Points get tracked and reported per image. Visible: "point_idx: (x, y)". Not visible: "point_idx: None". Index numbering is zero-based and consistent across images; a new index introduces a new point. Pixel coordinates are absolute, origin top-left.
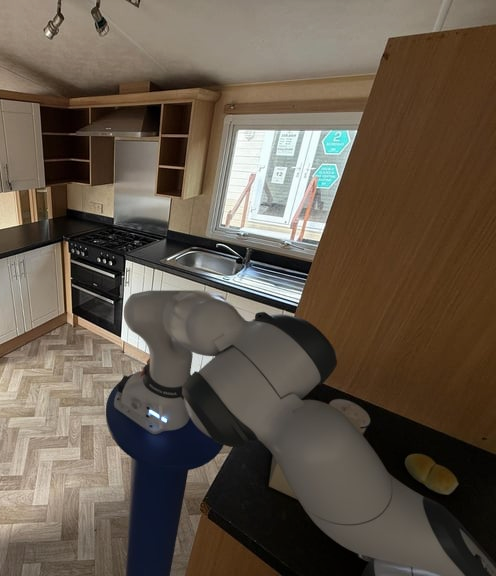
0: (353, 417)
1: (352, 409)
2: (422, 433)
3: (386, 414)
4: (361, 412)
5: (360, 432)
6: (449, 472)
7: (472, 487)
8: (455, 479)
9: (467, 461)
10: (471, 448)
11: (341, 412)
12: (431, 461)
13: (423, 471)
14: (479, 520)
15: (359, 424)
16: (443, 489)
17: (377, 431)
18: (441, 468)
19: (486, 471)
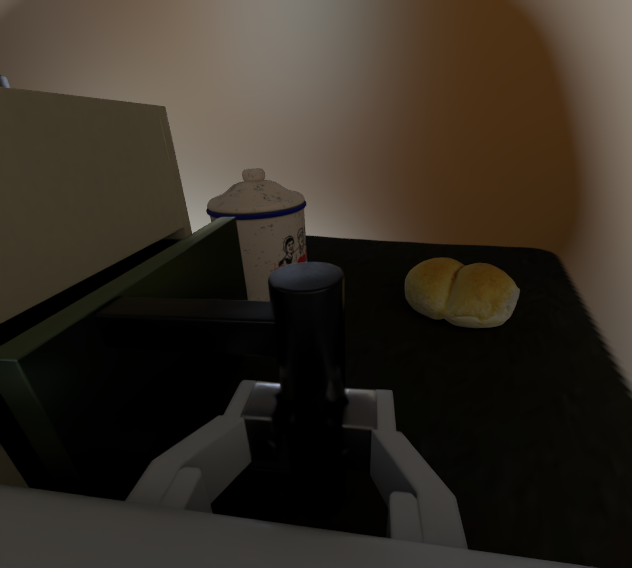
0: (250, 195)
1: (251, 180)
2: (444, 249)
3: (385, 241)
4: (278, 185)
5: (114, 100)
6: (494, 266)
7: (547, 297)
8: (510, 279)
9: (524, 264)
10: (525, 248)
11: (225, 196)
12: (454, 261)
13: (438, 284)
14: (590, 359)
15: (150, 105)
16: (488, 309)
17: (361, 263)
18: (475, 264)
19: (560, 268)
